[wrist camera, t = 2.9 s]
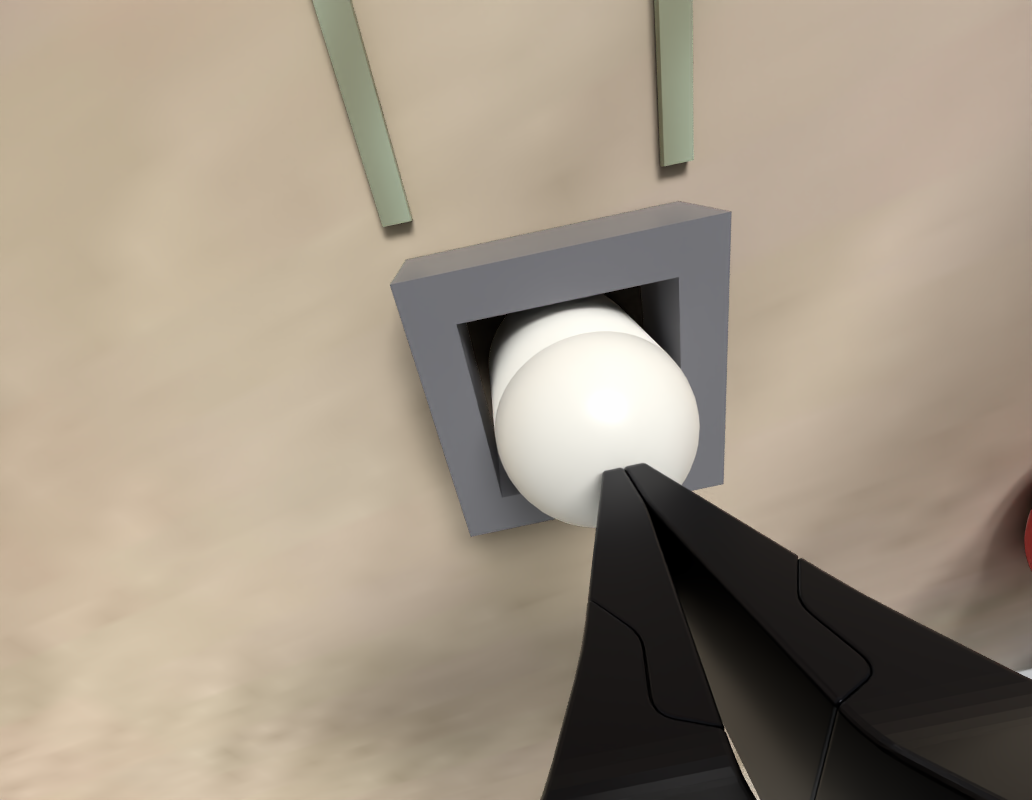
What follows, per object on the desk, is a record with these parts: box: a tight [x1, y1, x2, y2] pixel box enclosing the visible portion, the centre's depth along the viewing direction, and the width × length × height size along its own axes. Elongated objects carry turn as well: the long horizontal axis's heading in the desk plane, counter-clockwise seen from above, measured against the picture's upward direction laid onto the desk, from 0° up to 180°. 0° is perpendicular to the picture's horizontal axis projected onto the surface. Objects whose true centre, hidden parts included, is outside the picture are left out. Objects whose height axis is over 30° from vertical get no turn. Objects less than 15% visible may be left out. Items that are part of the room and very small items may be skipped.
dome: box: [489, 294, 700, 528], centre depth 12 cm, size 5×5×6 cm
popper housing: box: [390, 201, 731, 537], centre depth 14 cm, size 8×8×3 cm
